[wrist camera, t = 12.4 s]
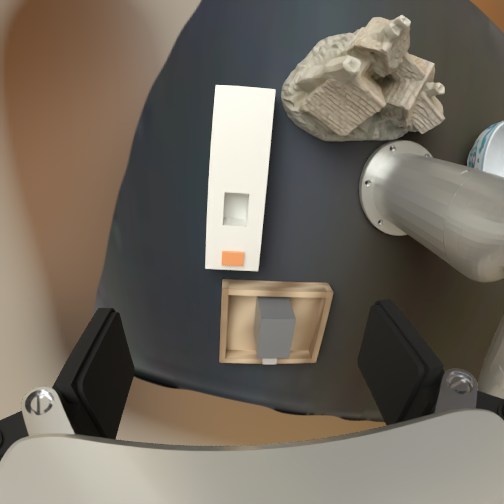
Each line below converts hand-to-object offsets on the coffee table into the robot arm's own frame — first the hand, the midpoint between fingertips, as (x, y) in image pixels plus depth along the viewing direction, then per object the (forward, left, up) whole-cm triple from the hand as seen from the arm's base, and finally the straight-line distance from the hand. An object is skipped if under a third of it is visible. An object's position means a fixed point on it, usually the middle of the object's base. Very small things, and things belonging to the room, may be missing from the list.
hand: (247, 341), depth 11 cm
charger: (-6, +21, -23) cm, 32 cm away
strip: (0, -2, -26) cm, 26 cm away
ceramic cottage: (-13, -13, -27) cm, 33 cm away
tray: (-6, +17, -26) cm, 32 cm away
